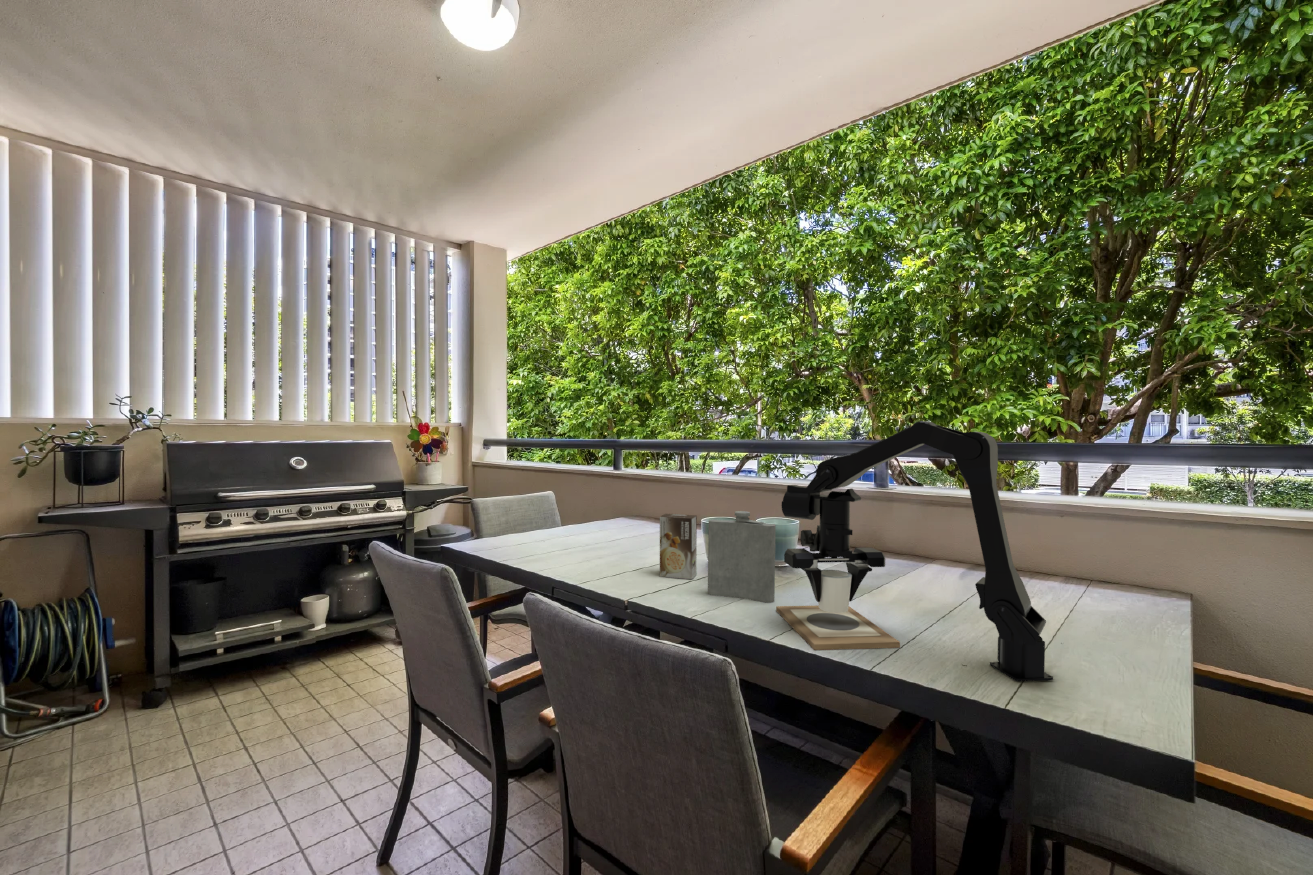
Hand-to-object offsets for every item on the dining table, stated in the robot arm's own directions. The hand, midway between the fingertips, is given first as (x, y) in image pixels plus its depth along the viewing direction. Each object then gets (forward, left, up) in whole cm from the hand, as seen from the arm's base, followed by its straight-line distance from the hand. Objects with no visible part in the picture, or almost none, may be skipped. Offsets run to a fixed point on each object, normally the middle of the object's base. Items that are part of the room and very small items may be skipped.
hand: (833, 600), depth 113 cm
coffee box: (+42, +25, -6) cm, 49 cm away
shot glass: (0, 0, -2) cm, 2 cm away
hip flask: (+22, +13, -6) cm, 26 cm away
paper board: (0, 0, -5) cm, 5 cm away
